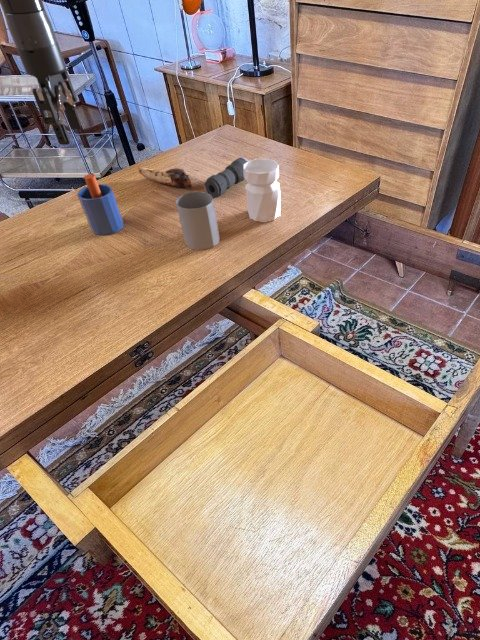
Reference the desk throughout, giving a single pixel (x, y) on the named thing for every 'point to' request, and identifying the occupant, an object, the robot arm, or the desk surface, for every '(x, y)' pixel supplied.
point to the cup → (198, 220)
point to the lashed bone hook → (167, 176)
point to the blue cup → (101, 211)
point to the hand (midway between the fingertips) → (71, 136)
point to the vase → (262, 189)
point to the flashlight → (226, 178)
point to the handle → (93, 186)
